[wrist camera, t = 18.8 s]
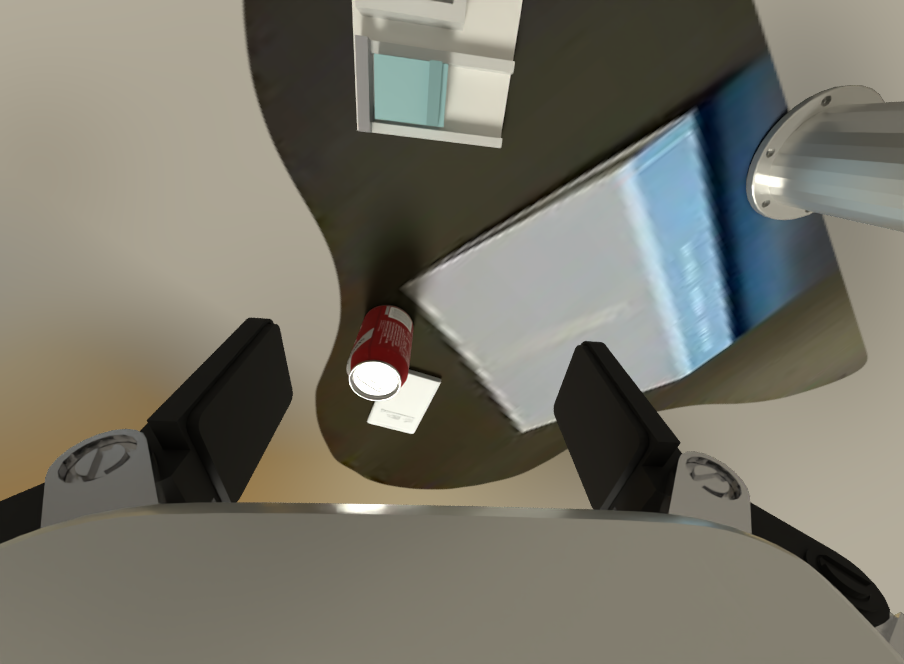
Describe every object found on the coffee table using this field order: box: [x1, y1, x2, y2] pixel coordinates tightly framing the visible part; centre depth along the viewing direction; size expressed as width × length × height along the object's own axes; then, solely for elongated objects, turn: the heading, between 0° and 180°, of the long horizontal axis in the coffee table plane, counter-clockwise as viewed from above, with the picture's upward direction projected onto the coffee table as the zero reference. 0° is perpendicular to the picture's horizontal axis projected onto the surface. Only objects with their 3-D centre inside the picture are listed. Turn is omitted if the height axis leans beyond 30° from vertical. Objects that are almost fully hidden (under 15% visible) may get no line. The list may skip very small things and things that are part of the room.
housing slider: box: [374, 53, 448, 127], centre depth 28 cm, size 6×4×4 cm
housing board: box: [352, 0, 523, 148], centre depth 27 cm, size 14×17×4 cm
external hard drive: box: [367, 369, 441, 434], centre depth 52 cm, size 2×8×12 cm
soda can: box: [347, 305, 413, 401], centre depth 40 cm, size 7×7×12 cm
